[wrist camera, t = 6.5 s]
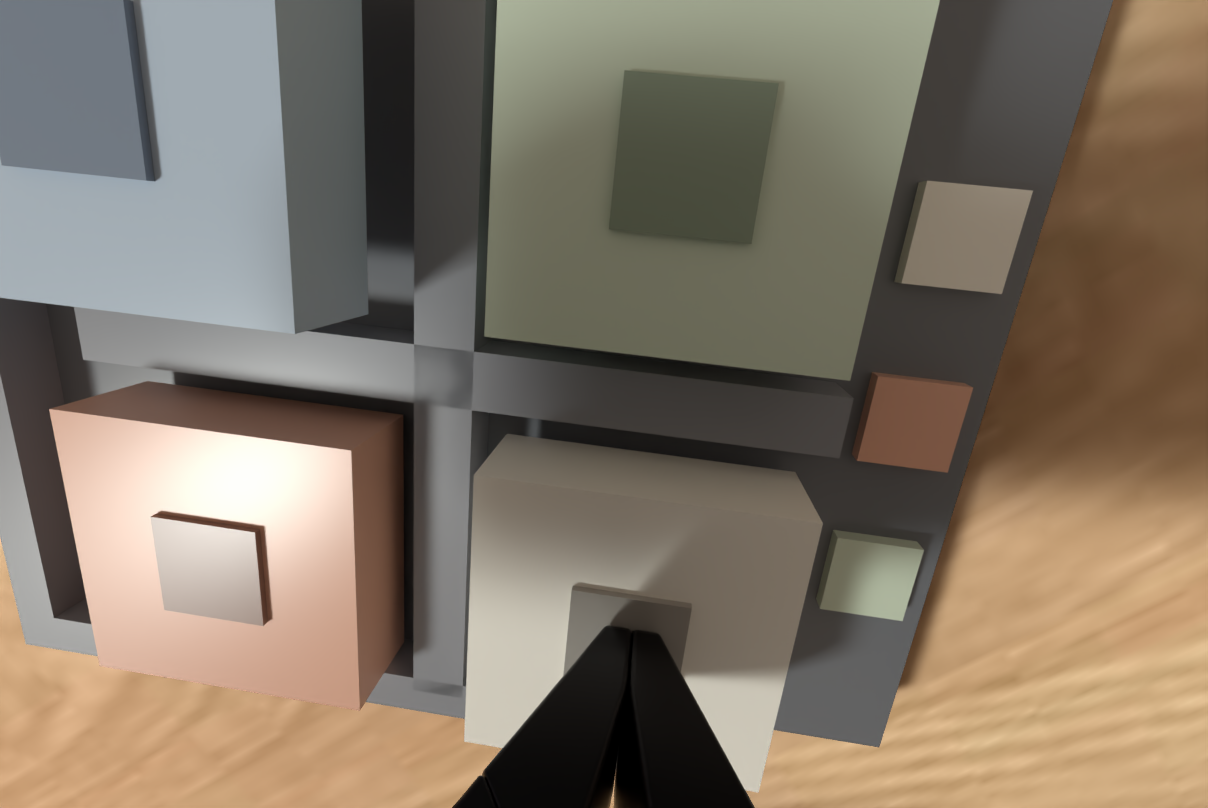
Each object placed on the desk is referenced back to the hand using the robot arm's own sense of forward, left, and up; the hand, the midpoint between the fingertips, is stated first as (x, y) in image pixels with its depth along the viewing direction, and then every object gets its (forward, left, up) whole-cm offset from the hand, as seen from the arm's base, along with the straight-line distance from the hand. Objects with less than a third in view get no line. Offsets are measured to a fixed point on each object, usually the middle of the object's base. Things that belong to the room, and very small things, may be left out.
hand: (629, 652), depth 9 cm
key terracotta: (+7, 0, -2) cm, 7 cm away
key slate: (+7, -7, -1) cm, 10 cm away
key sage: (0, -7, -2) cm, 7 cm away
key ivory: (0, 0, -2) cm, 2 cm away
